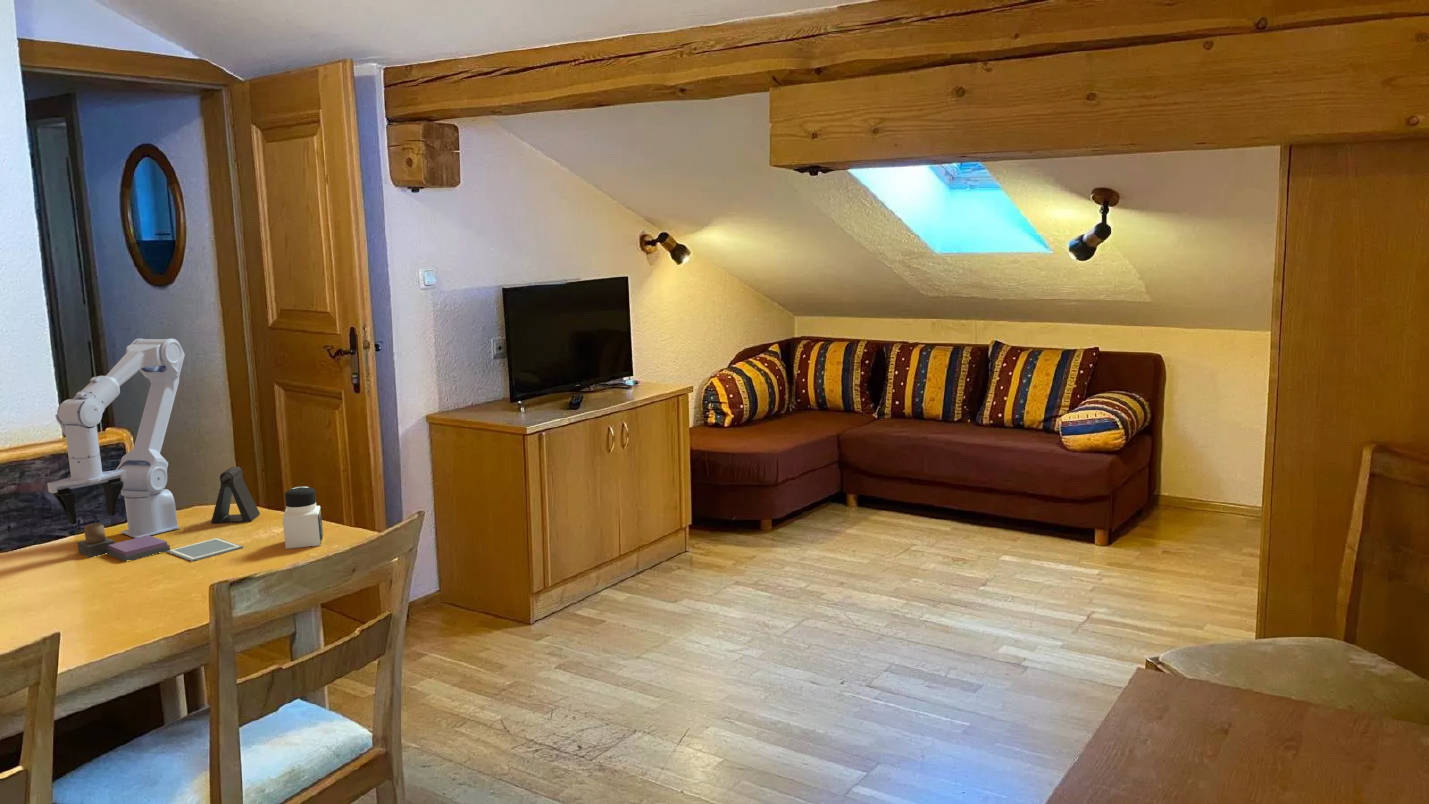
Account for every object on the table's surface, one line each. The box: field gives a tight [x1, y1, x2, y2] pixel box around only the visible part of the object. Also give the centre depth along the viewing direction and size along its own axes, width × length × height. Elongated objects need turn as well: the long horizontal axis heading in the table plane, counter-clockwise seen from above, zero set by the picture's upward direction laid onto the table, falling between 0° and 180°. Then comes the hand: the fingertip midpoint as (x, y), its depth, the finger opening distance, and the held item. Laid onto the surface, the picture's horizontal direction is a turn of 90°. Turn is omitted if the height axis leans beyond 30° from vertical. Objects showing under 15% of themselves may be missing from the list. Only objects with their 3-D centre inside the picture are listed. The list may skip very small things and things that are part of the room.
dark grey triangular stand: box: [210, 465, 261, 525], centre depth 249 cm, size 9×6×12 cm, turn 94°
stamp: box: [76, 522, 116, 559], centre depth 227 cm, size 5×6×6 cm
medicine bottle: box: [282, 486, 324, 550], centre depth 229 cm, size 7×7×12 cm
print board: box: [165, 537, 244, 562], centre depth 227 cm, size 11×11×1 cm
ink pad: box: [106, 535, 171, 562], centre depth 226 cm, size 9×9×2 cm
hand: (92, 519), depth 226 cm, fingers open, 7 cm apart
